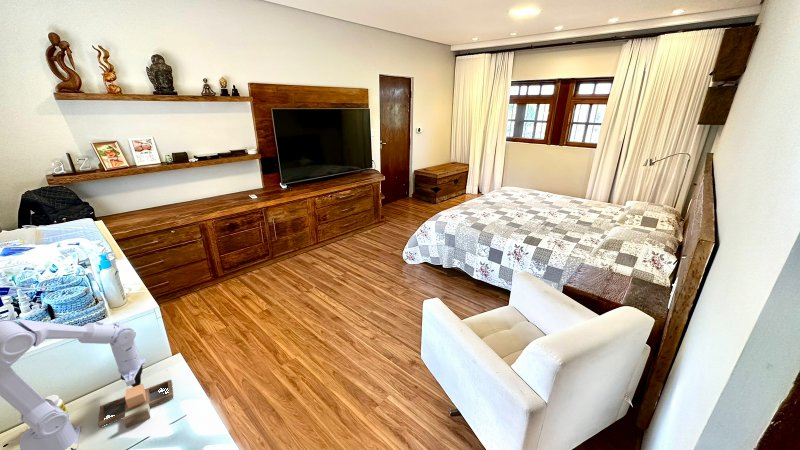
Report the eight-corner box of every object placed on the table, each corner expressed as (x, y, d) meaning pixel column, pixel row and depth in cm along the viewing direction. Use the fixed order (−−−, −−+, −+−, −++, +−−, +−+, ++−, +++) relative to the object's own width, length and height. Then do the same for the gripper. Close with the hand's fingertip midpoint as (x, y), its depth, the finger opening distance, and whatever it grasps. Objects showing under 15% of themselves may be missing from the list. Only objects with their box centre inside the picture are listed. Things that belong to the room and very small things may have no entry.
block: (128, 408, 101) (125, 400, 99) (128, 398, 104) (125, 389, 102) (145, 401, 103) (142, 393, 102) (145, 391, 106) (142, 383, 105)
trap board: (98, 439, 93) (94, 431, 92) (101, 410, 101) (98, 401, 100) (174, 407, 104) (172, 399, 103) (172, 383, 112) (170, 375, 111)
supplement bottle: (54, 427, 95) (44, 409, 92) (42, 423, 96) (32, 405, 93) (72, 413, 100) (64, 395, 96) (61, 409, 100) (51, 391, 97)
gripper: (142, 365, 99) (151, 394, 105) (142, 337, 110) (150, 365, 115) (113, 375, 95) (124, 405, 101) (115, 345, 106) (126, 373, 111)
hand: (136, 384), depth 108 cm, fingers closed
